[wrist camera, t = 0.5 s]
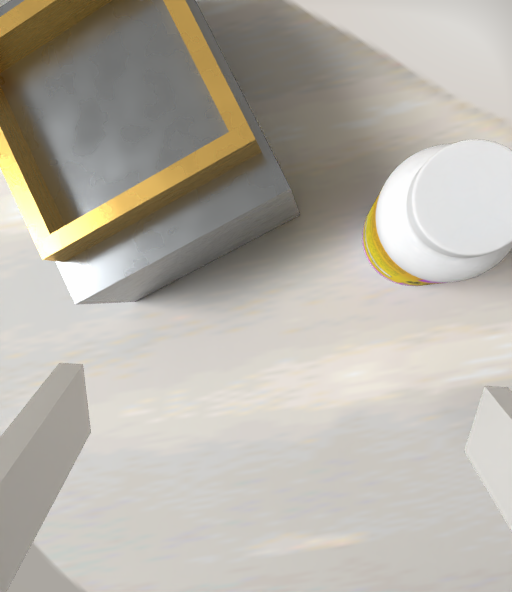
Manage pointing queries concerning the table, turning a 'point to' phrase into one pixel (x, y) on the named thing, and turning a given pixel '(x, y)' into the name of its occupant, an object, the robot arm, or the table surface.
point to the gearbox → (130, 143)
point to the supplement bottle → (442, 215)
